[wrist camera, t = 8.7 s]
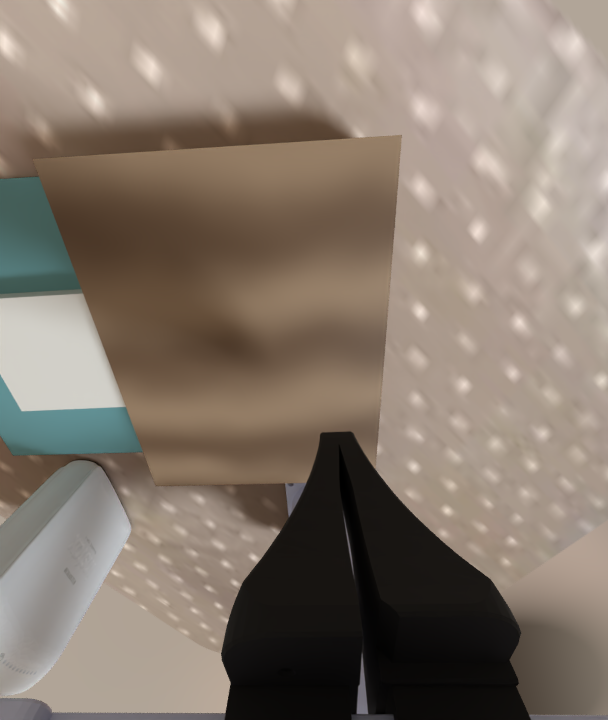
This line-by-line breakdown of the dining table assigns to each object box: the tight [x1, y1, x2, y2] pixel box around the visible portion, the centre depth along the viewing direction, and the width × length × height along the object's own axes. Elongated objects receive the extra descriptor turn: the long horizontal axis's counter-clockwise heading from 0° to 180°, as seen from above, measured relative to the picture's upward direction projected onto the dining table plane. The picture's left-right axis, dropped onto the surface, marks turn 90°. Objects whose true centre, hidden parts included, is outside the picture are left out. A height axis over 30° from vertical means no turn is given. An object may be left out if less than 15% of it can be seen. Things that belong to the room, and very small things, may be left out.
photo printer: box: [0, 460, 131, 696], centre depth 22 cm, size 10×4×12 cm, turn 3°
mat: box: [0, 177, 143, 456], centre depth 20 cm, size 20×14×1 cm
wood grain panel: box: [32, 135, 402, 486], centre depth 18 cm, size 20×16×4 cm
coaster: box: [0, 289, 126, 411], centre depth 19 cm, size 8×8×2 cm
